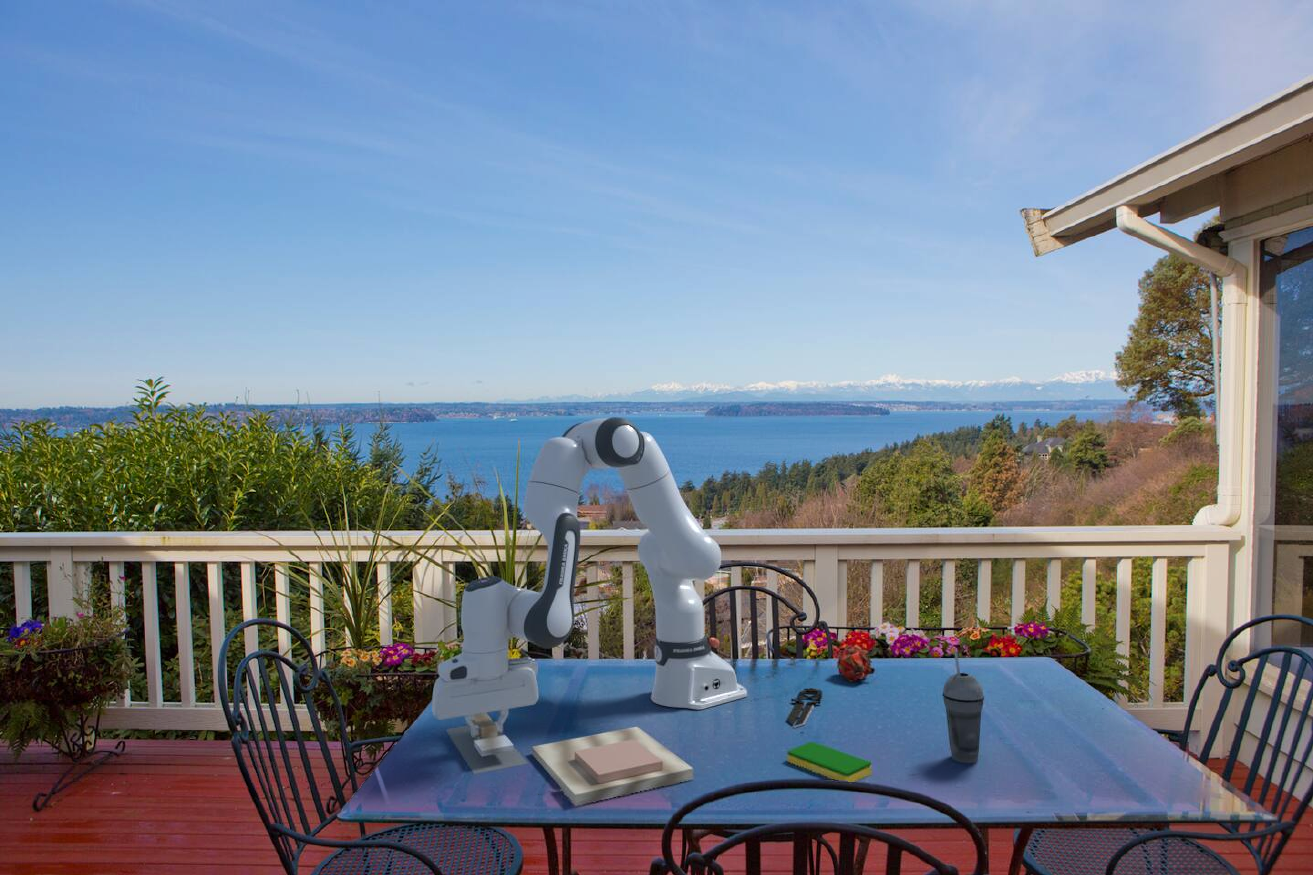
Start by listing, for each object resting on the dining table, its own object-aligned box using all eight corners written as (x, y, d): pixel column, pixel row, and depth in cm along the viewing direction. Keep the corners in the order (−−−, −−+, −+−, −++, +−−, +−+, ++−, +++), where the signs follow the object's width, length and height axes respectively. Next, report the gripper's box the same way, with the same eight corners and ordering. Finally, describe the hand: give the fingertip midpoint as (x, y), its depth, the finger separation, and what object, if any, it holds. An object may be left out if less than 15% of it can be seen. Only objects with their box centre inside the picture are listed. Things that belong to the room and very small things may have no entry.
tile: (634, 739, 154) (662, 760, 143) (634, 747, 154) (662, 769, 143) (574, 751, 148) (598, 774, 138) (574, 759, 148) (599, 783, 138)
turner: (487, 718, 170) (487, 704, 170) (513, 750, 152) (513, 734, 152) (458, 723, 167) (458, 708, 167) (481, 756, 149) (481, 739, 149)
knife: (801, 732, 167) (801, 725, 167) (770, 727, 169) (770, 720, 169) (830, 695, 189) (830, 689, 189) (802, 692, 192) (802, 686, 192)
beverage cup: (982, 769, 145) (979, 656, 145) (939, 761, 148) (936, 651, 148) (989, 755, 151) (986, 647, 151) (948, 748, 155) (946, 643, 155)
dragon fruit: (853, 677, 207) (862, 698, 195) (825, 658, 207) (833, 679, 195) (873, 651, 206) (883, 671, 194) (845, 632, 205) (854, 651, 194)
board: (637, 736, 165) (636, 726, 165) (693, 779, 143) (693, 768, 143) (532, 757, 155) (531, 746, 155) (575, 806, 134) (575, 794, 134)
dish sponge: (811, 753, 155) (811, 740, 155) (872, 775, 144) (872, 761, 144) (786, 763, 150) (786, 750, 150) (847, 787, 140) (846, 773, 140)
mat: (492, 723, 174) (492, 721, 174) (528, 766, 151) (528, 763, 151) (445, 732, 170) (445, 729, 170) (474, 777, 146) (474, 774, 146)
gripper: (532, 651, 165) (534, 720, 165) (429, 665, 156) (431, 738, 156) (542, 659, 159) (543, 729, 159) (435, 674, 150) (437, 748, 150)
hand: (487, 734), depth 158 cm, fingers closed on turner, 3 cm apart
